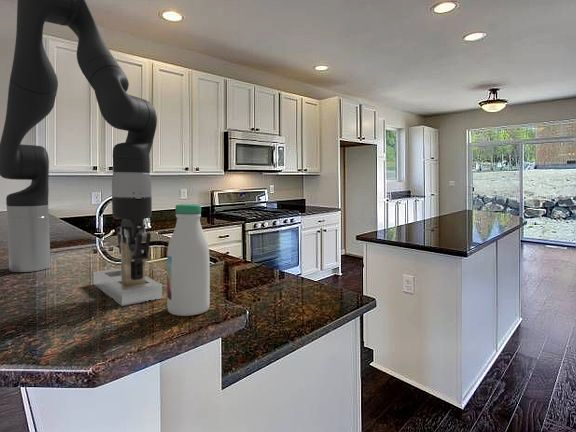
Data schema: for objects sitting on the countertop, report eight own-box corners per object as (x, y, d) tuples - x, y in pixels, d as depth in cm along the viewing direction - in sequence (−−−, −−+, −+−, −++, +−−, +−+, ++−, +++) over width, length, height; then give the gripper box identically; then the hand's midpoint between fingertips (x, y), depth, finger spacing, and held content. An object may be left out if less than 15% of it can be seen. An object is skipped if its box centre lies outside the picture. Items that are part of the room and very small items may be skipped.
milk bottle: (217, 306, 74) (217, 204, 72) (194, 319, 66) (194, 206, 65) (183, 301, 76) (182, 203, 74) (158, 313, 69) (157, 204, 67)
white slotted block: (93, 284, 88) (93, 271, 87) (129, 279, 93) (128, 267, 93) (121, 306, 73) (121, 290, 72) (162, 298, 78) (161, 284, 78)
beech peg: (121, 284, 79) (120, 242, 78) (138, 281, 81) (138, 240, 81) (127, 288, 76) (126, 244, 76) (145, 285, 79) (144, 242, 78)
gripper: (102, 194, 80) (104, 273, 82) (124, 196, 70) (126, 287, 71) (138, 193, 85) (139, 268, 87) (163, 196, 75) (164, 281, 76)
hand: (133, 276), depth 79 cm, fingers closed on beech peg, 3 cm apart
